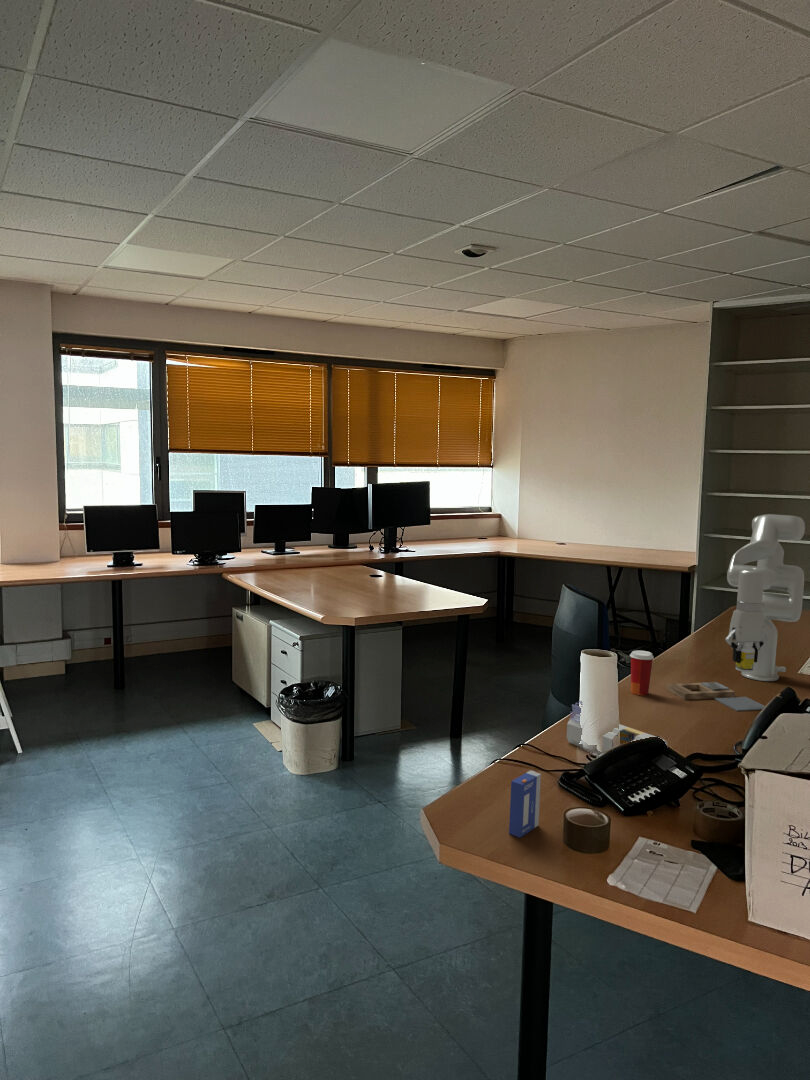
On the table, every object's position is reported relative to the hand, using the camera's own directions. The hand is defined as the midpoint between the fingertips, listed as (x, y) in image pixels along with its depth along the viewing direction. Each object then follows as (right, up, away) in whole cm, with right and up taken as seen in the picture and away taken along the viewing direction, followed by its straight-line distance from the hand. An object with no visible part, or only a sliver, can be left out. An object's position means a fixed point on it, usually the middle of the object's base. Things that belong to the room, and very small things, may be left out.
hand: (744, 661), depth 255 cm
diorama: (-54, -19, -43) cm, 72 cm away
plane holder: (-10, -13, +12) cm, 20 cm away
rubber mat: (0, -14, +2) cm, 15 cm away
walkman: (-86, -23, -88) cm, 125 cm away
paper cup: (-31, -13, +11) cm, 35 cm away
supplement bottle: (0, -3, 0) cm, 3 cm away
